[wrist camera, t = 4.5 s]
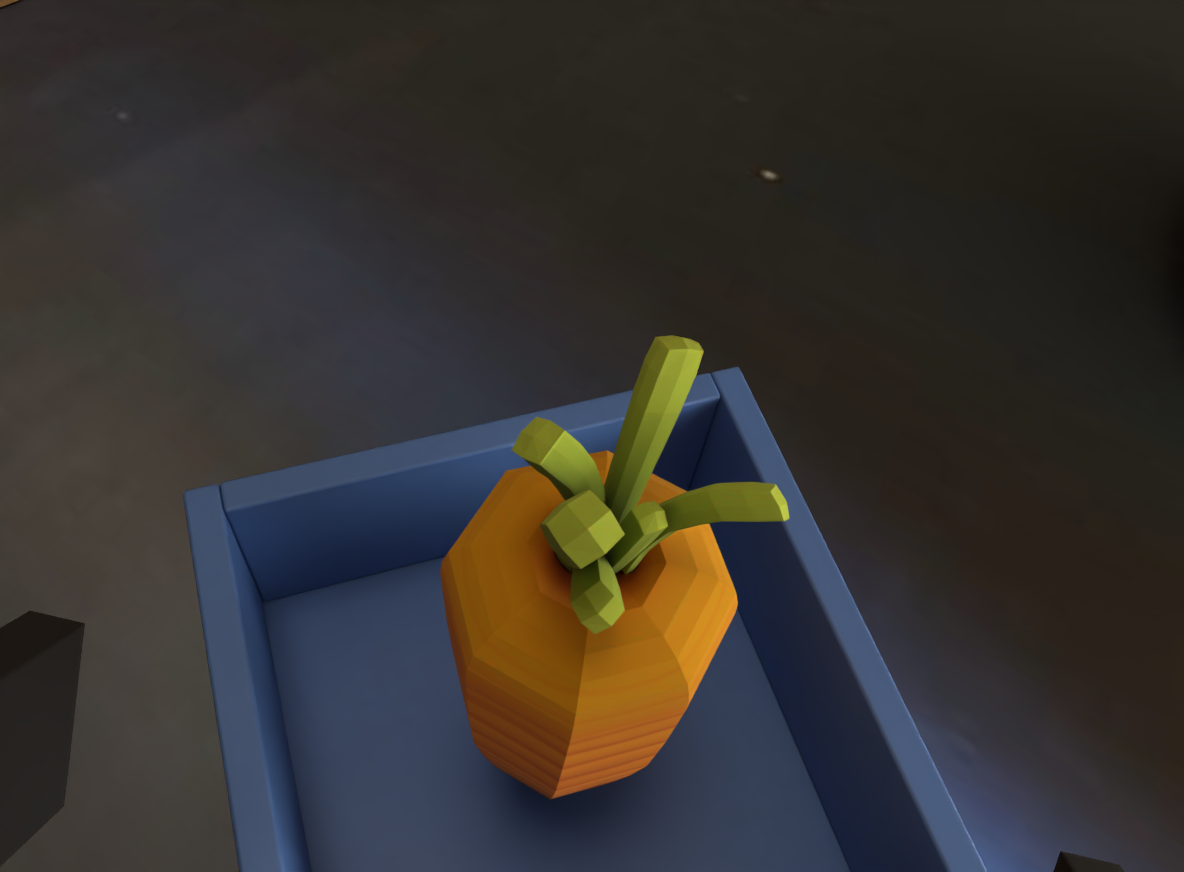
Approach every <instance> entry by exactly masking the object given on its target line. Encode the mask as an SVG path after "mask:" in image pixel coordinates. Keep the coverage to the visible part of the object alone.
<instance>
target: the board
mask: <svg viewBox="0 0 1184 872" xmlns="http://www.w3.org/2000/svg"><path fill="white" fill-rule="evenodd" d="M16 1H18V0H0V7H3V6H5V5H8V4H11V3H13V2H16Z"/></svg>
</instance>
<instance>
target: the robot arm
mask: <svg viewBox="0 0 1184 872" xmlns="http://www.w3.org/2000/svg"><path fill="white" fill-rule="evenodd" d="M84 626H85V623H81V622H76V621H72V620H68V619H63V618H59V617H55V616H51V615H46V614H42V613H38V612H33V611H28V612H27V613H25V614H23V615H22V616H20V617H18V618H17V619H15V620H13V621H12V622H10V623H8V624H7V625H5V626H3V627H1V628H0V866H1V865H2V864H3V863H4V862H5V861H6V860H8V859H9V858H10V857H11V856H12V855H13V854H14V853H15V852H16V851H17V850H18V849H19V848H20V847H21V846H22V845H23V844H24V843H25V842H27V841H28V840H29V839H30V838H31V837H32V836H33V835H34V834H35V833H36V832H37V831H38V830H39V829H40V828H41V827H42V826H43V825H44V824H46V823H47V822H48V821H49V820H50V819H51V818H52V817H53V816H54V815H55V814H56V813H57V812H58V811H59V810H60V809H61V808H62V807H63V806H64V802H65V793H66V784H67V775H68V766H69V758H70V749H71V740H72V731H73V723H74V714H75V705H76V696H77V687H78V679H79V670H80V661H81V652H82V644H83V635H84ZM1054 872H1124V871H1123V869H1122V868H1121V866H1120V865H1117V864H1113V863H1109V862H1104V861H1100V860H1096V859H1092V858H1087V857H1083V856H1079V855H1074V854H1070V853H1066V852H1062V851H1061V852H1060V854H1059V857H1058V860H1057V863H1056V866H1055V869H1054Z"/></svg>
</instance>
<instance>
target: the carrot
mask: <svg viewBox="0 0 1184 872" xmlns="http://www.w3.org/2000/svg"><path fill="white" fill-rule="evenodd" d="M703 352H704V351H703V349H702V348H701V346H700V345H699V343H698V342H695V341H693V340H690V339H687V338H682V337H678V336H673V335H671V336H662V337H655V339H654V341H653V343H652V345H651V347H650V349H649V351H648V353H647V355H646V357H645V359H644V362H643V365H642V368H641V370H640V373H639V376H638V379H637V381H636V384H635V387H634V390H633V393H632V396H631V399H630V403H629V406H628V409H627V412H626V415H625V419H624V422H623V425H622V428H621V432H620V435H619V438H618V441H617V445H616V448H615V451H614V454H613V453H611V452H610V451H608V450H606V451H601V452H596V453H591V454H588V452H587V451H586V450H585V449H584V447H583V446H582V445H581V444H580V443H579V442H578V441H577V440H576V439H574V438H573V437H572V436H571V435H570V434H569V433H567V432H566V431H565V430H564V429H562V428H561V427H559V426H558V425H556V424H555V423H553V422H552V421H550V420H547V419H543V418H539V417H535V418H534V419H533V420H532V421H531V422H530V423H529V424H528V425H527V426H526V427H525V428H524V429H523V430H522V431H521V433H520V435H519V436H518V438H517V440H516V442H515V444H514V446H513V448H512V451H513V452H515V453H516V454H517V455H519V456H520V457H521V458H523V459H524V460H525V461H526V462H528V463H529V464H530V465H531V466H526V467H521V468H516V469H511V470H506V472H505V473H504V475H503V476H502V477H501V479H500V480H499V482H498V483H497V484H496V486H495V487H494V489H493V490H492V492H491V493H490V494H489V496H488V497H487V499H486V500H485V501H484V503H483V504H482V506H481V507H480V508H479V510H478V511H477V513H476V514H475V515H474V517H473V518H472V520H471V521H470V522H469V524H468V525H467V527H466V528H465V530H464V531H463V532H462V534H461V535H460V537H459V538H458V539H457V541H456V542H455V544H454V545H453V546H452V548H451V549H450V551H449V552H448V554H447V555H446V556H445V558H444V559H443V561H442V564H441V570H440V575H441V582H442V590H443V598H444V606H445V614H446V620H447V625H448V630H449V635H450V640H451V645H452V649H453V654H454V659H455V663H456V667H457V672H458V676H459V680H460V685H461V689H462V693H463V698H464V702H465V706H466V711H467V715H468V719H469V724H470V728H471V732H472V737H473V741H474V743H475V745H476V746H477V747H478V749H479V750H480V752H481V753H482V754H483V756H484V757H485V758H486V759H487V760H488V761H490V762H491V763H492V764H493V765H494V766H495V767H496V768H498V769H500V770H501V771H503V772H505V773H507V774H508V775H510V776H512V777H513V778H515V779H517V780H518V781H520V782H522V783H523V784H525V785H527V786H528V787H530V788H532V789H533V790H535V791H537V792H538V793H540V794H542V795H544V796H545V797H547V798H549V799H554V798H557V797H561V796H565V795H568V794H572V793H575V792H579V791H583V790H586V789H590V788H594V787H597V786H601V785H604V784H608V783H611V782H614V781H617V780H620V779H622V778H625V777H628V776H630V775H632V774H634V773H635V772H637V771H639V770H641V769H642V768H644V767H646V766H647V765H648V764H649V763H650V762H651V760H652V759H653V758H654V756H655V755H656V754H657V753H658V751H659V750H660V749H661V747H662V746H663V745H664V744H665V742H666V741H667V739H668V738H669V736H670V734H671V733H672V731H673V730H674V728H675V727H676V725H677V723H678V722H679V720H680V719H681V717H682V716H683V714H684V712H685V711H686V709H687V707H688V705H689V703H690V701H691V699H692V697H693V695H694V693H695V691H696V690H697V688H698V686H699V684H700V682H701V680H702V678H703V676H704V674H705V672H706V670H707V668H708V666H709V664H710V662H711V660H712V658H713V656H714V654H715V652H716V650H717V648H718V646H719V644H720V642H721V640H722V638H723V636H724V634H725V633H726V631H727V629H728V627H729V625H730V623H731V621H732V619H733V617H734V615H735V613H736V609H737V605H738V600H737V595H736V591H735V588H734V586H733V583H732V581H731V578H730V575H729V573H728V570H727V568H726V565H725V562H724V560H723V557H722V555H721V552H720V550H719V547H718V544H717V542H716V539H715V537H714V534H713V531H712V529H711V526H710V524H709V523H716V522H722V521H737V522H774V521H786V520H788V519H789V512H788V505H787V501H786V500H785V498H784V496H783V495H782V493H781V492H780V490H779V488H778V487H777V485H776V484H771V483H760V482H732V483H717V484H712V485H708V486H705V487H702V488H698V489H695V490H692V491H688V492H687V491H685V490H683V489H681V488H679V487H677V486H676V485H674V484H672V483H670V482H668V481H666V480H664V479H662V478H660V477H658V476H656V475H654V474H652V472H653V470H654V467H655V465H656V463H657V461H658V459H659V457H660V455H661V452H662V450H663V448H664V446H665V444H666V442H667V440H668V437H669V435H670V433H671V431H672V429H673V427H674V425H675V422H676V420H677V418H678V416H679V414H680V412H681V409H682V407H683V405H684V402H685V400H686V398H687V395H688V393H689V391H690V388H691V386H692V384H693V382H694V379H695V377H696V374H697V371H698V368H699V364H700V361H701V358H702V355H703Z"/></svg>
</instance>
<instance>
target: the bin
mask: <svg viewBox="0 0 1184 872" xmlns="http://www.w3.org/2000/svg"><path fill="white" fill-rule="evenodd" d="M632 393H633V390H630V391H626V392H621V393H617V394H612V395H608V396H604V397H599V398H595V399H590V400H586V401H581V402H577V403H572V404H568V405H564V406H559V407H555V408H550V409H546V410H541V411H537V412H532V413H528V414H524V415H519V416H515V417H510V418H506V419H501V420H497V421H492V422H488V423H484V424H479V425H475V426H470V427H466V428H461V429H457V430H452V431H448V432H444V433H439V434H435V435H430V436H426V437H421V438H417V439H413V440H408V441H404V442H399V443H395V444H390V445H386V446H381V447H377V448H373V449H368V450H364V451H359V452H355V453H350V454H346V455H341V456H337V457H333V458H328V459H324V460H319V461H315V462H310V463H306V464H301V465H297V466H293V467H288V468H284V469H279V470H275V471H270V472H266V473H261V474H257V475H253V476H248V477H244V478H239V479H235V480H230V481H226V482H223V483H221V485H220V486H219V485H218V484H213V485H209V486H204V487H200V488H195V489H191V490H186V491H185V492H184V493H183V499H184V506H185V513H186V519H187V526H188V533H189V539H190V546H191V553H192V559H193V566H194V573H195V579H196V586H197V593H198V599H199V606H200V613H201V619H202V626H203V633H204V639H205V646H206V653H207V659H208V666H209V672H210V679H211V686H212V692H213V699H214V706H215V712H216V719H217V726H218V732H219V739H220V746H221V752H222V759H223V766H224V772H225V779H226V786H227V792H228V799H229V806H230V812H231V819H232V826H233V832H234V839H235V846H236V852H237V859H238V865H239V872H987V870H986V868H985V866H984V864H983V862H982V860H981V858H980V856H979V854H978V852H977V850H976V848H975V845H974V843H973V841H972V839H971V837H970V835H969V833H968V831H967V829H966V827H965V825H964V823H963V821H962V819H961V817H960V815H959V813H958V811H957V809H956V807H955V805H954V803H953V801H952V799H951V797H950V795H949V793H948V791H947V789H946V787H945V785H944V783H943V781H942V778H941V776H940V774H939V772H938V770H937V768H936V766H935V764H934V762H933V760H932V758H931V756H930V754H929V752H928V750H927V748H926V746H925V744H924V742H923V740H922V738H921V736H920V734H919V732H918V730H917V728H916V726H915V724H914V722H913V720H912V718H911V716H910V714H909V711H908V709H907V707H906V705H905V703H904V701H903V699H902V697H901V695H900V693H899V691H898V689H897V687H896V685H895V683H894V681H893V679H892V677H891V675H890V673H889V671H888V669H887V667H886V665H885V663H884V661H883V659H882V657H881V655H880V653H879V651H878V649H877V647H876V644H875V642H874V640H873V638H872V636H871V634H870V632H869V630H868V628H867V626H866V624H865V622H864V620H863V618H862V616H861V614H860V612H859V610H858V608H857V606H856V604H855V602H854V600H853V598H852V596H851V594H850V592H849V590H848V588H847V586H846V584H845V582H844V580H843V577H842V575H841V573H840V571H839V569H838V567H837V565H836V563H835V561H834V559H833V557H832V555H831V553H830V551H829V549H828V547H827V545H826V543H825V541H824V539H823V537H822V535H821V533H820V531H819V529H818V527H817V525H816V523H815V521H814V519H813V517H812V515H811V513H810V510H809V508H808V506H807V504H806V502H805V500H804V498H803V496H802V494H801V492H800V490H799V488H798V486H797V484H796V482H795V480H794V478H793V476H792V474H791V472H790V470H789V468H788V466H787V464H786V462H785V460H784V458H783V456H782V454H781V452H780V450H779V448H778V446H777V443H776V441H775V439H774V437H773V435H772V433H771V431H770V429H769V427H768V425H767V423H766V421H765V419H764V417H763V415H762V413H761V411H760V409H759V407H758V405H757V403H756V401H755V399H754V397H753V395H752V393H751V391H750V389H749V387H748V385H747V383H746V381H745V379H744V376H743V374H742V372H741V370H740V368H739V367H733V368H728V369H724V370H719V371H715V372H713V373H711V375H710V374H709V373H706V374H701V375H697V376H696V377H695V379H694V382H693V384H692V386H691V388H690V391H689V393H688V395H687V398H686V400H685V402H684V405H683V407H682V409H681V412H680V414H679V416H678V418H677V420H676V422H675V425H674V427H673V429H672V431H671V433H670V435H669V437H668V440H667V442H666V444H665V446H664V448H663V450H662V452H661V455H660V457H659V459H658V461H657V463H656V465H655V467H654V470H653V472H652V474H654V475H656V476H658V477H660V478H662V479H664V480H666V481H668V482H670V483H672V484H674V485H676V486H677V487H679V488H681V489H683V490H685V491H687V492H688V491H692V490H695V489H698V488H702V487H705V486H708V485H712V484H717V483H732V482H760V483H771V484H776V485H777V487H778V488H779V490H780V492H781V493H782V495H783V496H784V498H785V500H786V501H787V505H788V512H789V519H788V520H786V521H774V522H737V521H722V522H716V523H709V524H710V526H711V529H712V531H713V534H714V537H715V539H716V542H717V544H718V547H719V550H720V552H721V555H722V557H723V560H724V562H725V565H726V568H727V570H728V573H729V575H730V578H731V581H732V583H733V586H734V588H735V591H736V595H737V600H738V605H737V609H736V613H735V615H734V617H733V619H732V621H731V623H730V625H729V627H728V629H727V631H726V633H725V634H724V636H723V638H722V640H721V642H720V644H719V646H718V648H717V650H716V652H715V654H714V656H713V658H712V660H711V662H710V664H709V666H708V668H707V670H706V672H705V674H704V676H703V678H702V680H701V682H700V684H699V686H698V688H697V690H696V691H695V693H694V695H693V697H692V699H691V701H690V703H689V705H688V707H687V709H686V711H685V712H684V714H683V716H682V717H681V719H680V720H679V722H678V723H677V725H676V727H675V728H674V730H673V731H672V733H671V734H670V736H669V738H668V739H667V741H666V742H665V744H664V745H663V746H662V747H661V749H660V750H659V751H658V753H657V754H656V755H655V756H654V758H653V759H652V760H651V762H650V763H649V764H648V765H647V766H646V767H644V768H642V769H641V770H639V771H637V772H635V773H634V774H632V775H630V776H628V777H625V778H622V779H620V780H617V781H614V782H611V783H608V784H604V785H601V786H597V787H594V788H590V789H586V790H583V791H579V792H575V793H572V794H568V795H565V796H561V797H557V798H554V799H549V798H547V797H545V796H544V795H542V794H540V793H538V792H537V791H535V790H533V789H532V788H530V787H528V786H527V785H525V784H523V783H522V782H520V781H518V780H517V779H515V778H513V777H512V776H510V775H508V774H507V773H505V772H503V771H501V770H500V769H498V768H496V767H495V766H494V765H493V764H492V763H491V762H490V761H488V760H487V759H486V758H485V757H484V756H483V754H482V753H481V752H480V750H479V749H478V747H477V746H476V745H475V743H474V741H473V737H472V732H471V728H470V724H469V719H468V715H467V711H466V706H465V702H464V698H463V693H462V689H461V685H460V680H459V676H458V672H457V667H456V663H455V659H454V654H453V649H452V645H451V640H450V635H449V630H448V625H447V620H446V614H445V606H444V598H443V590H442V582H441V575H440V570H441V564H442V561H443V559H444V558H445V556H446V555H447V554H448V552H449V551H450V549H451V548H452V546H453V545H454V544H455V542H456V541H457V539H458V538H459V537H460V535H461V534H462V532H463V531H464V530H465V528H466V527H467V525H468V524H469V522H470V521H471V520H472V518H473V517H474V515H475V514H476V513H477V511H478V510H479V508H480V507H481V506H482V504H483V503H484V501H485V500H486V499H487V497H488V496H489V494H490V493H491V492H492V490H493V489H494V487H495V486H496V484H497V483H498V482H499V480H500V479H501V477H502V476H503V475H504V473H505V472H506V470H511V469H516V468H521V467H526V466H531V465H530V464H529V463H528V462H526V461H525V460H524V459H523V458H521V457H520V456H519V455H517V454H516V453H515V452H513V451H512V448H513V446H514V444H515V442H516V440H517V438H518V436H519V435H520V433H521V431H522V430H523V429H524V428H525V427H526V426H527V425H528V424H529V423H530V422H531V421H532V420H533V419H534V418H535V417H539V418H543V419H547V420H550V421H552V422H553V423H555V424H556V425H558V426H559V427H561V428H562V429H564V430H565V431H566V432H567V433H569V434H570V435H571V436H572V437H573V438H574V439H576V440H577V441H578V442H579V443H580V444H581V445H582V446H583V447H584V449H585V450H586V451H587V452H588V454H591V453H596V452H601V451H606V450H608V451H610V452H611V453H613V454H614V451H615V448H616V445H617V441H618V438H619V435H620V432H621V428H622V425H623V422H624V419H625V415H626V412H627V409H628V406H629V403H630V399H631V396H632Z"/></svg>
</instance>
